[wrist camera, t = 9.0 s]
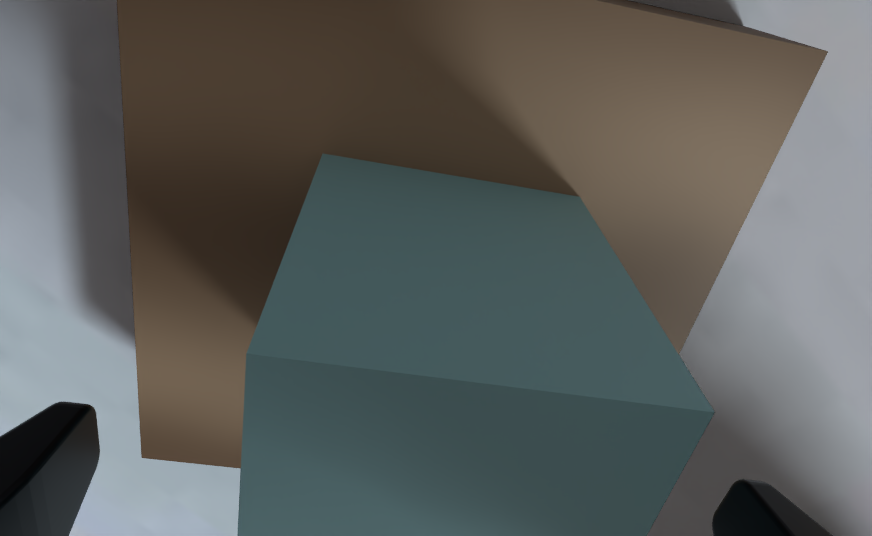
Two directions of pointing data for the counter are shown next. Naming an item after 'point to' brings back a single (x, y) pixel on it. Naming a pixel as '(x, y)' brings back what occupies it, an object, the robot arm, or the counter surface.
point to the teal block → (457, 369)
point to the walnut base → (420, 151)
